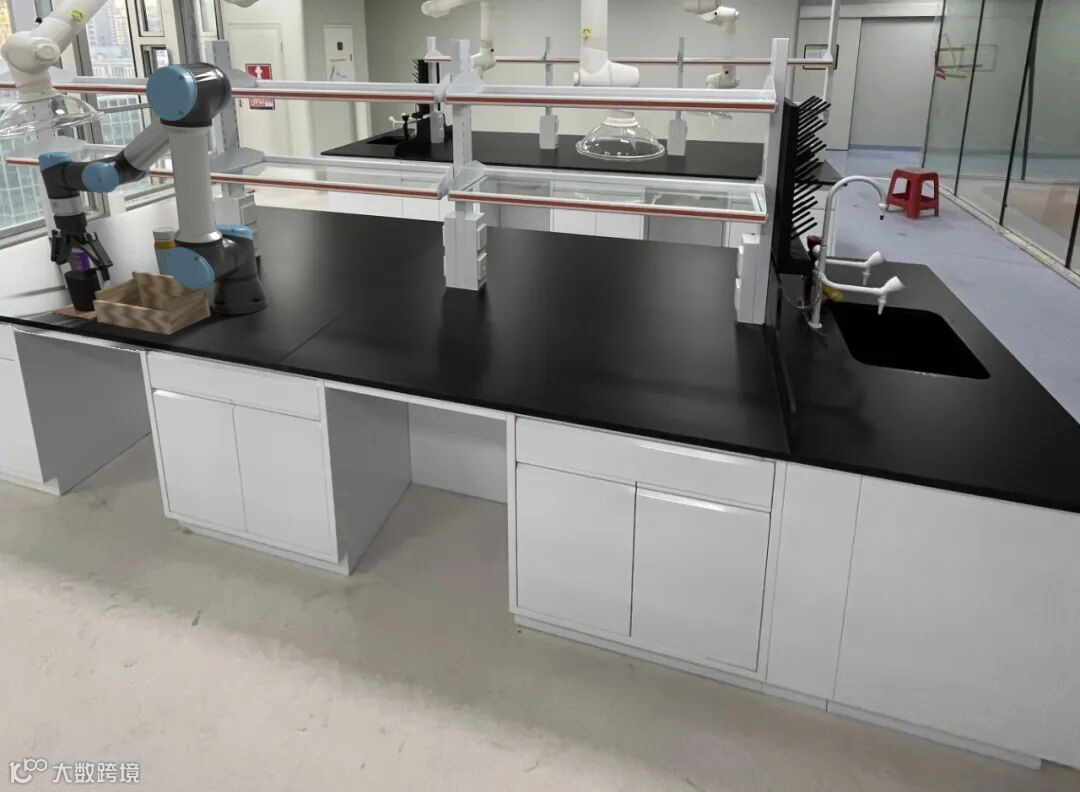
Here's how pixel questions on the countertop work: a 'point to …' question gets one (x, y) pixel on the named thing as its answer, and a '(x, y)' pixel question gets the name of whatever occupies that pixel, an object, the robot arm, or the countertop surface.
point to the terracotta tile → (75, 312)
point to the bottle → (163, 247)
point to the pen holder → (83, 288)
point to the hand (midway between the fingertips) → (88, 289)
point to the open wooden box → (151, 304)
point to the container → (81, 260)
